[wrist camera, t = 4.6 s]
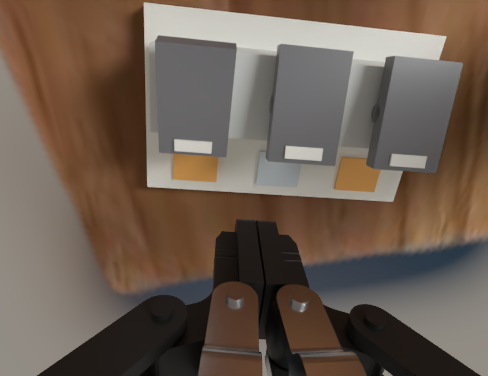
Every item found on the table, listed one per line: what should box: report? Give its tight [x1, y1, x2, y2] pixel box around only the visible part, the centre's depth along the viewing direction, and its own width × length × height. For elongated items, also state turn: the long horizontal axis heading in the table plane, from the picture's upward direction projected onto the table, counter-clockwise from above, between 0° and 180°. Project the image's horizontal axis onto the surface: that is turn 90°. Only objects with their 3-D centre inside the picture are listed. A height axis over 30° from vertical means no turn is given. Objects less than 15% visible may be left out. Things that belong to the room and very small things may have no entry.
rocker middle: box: [265, 44, 354, 166], centre depth 23 cm, size 4×7×2 cm, turn 174°
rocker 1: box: [155, 35, 237, 157], centre depth 22 cm, size 4×7×2 cm, turn 174°
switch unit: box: [144, 2, 446, 202], centre depth 28 cm, size 22×14×6 cm, turn 84°
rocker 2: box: [366, 56, 463, 173], centre depth 23 cm, size 4×7×2 cm, turn 174°
